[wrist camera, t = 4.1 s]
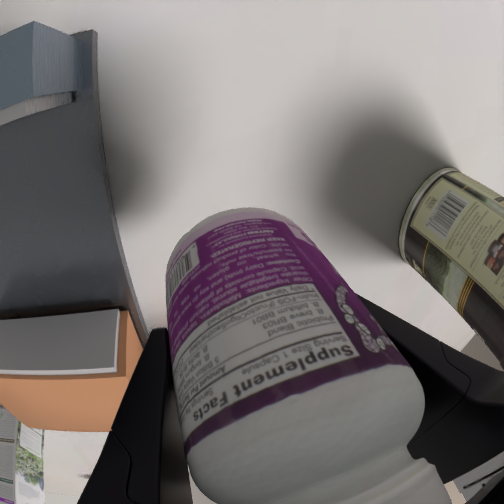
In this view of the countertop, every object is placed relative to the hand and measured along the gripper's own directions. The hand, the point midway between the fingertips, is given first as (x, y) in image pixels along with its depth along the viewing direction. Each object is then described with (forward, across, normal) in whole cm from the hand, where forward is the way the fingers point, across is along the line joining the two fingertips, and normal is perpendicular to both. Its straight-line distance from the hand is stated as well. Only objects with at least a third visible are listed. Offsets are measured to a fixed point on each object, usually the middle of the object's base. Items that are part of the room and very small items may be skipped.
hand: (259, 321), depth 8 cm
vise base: (+9, +12, +2) cm, 15 cm away
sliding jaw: (+8, +12, +10) cm, 17 cm away
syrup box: (+9, +29, +25) cm, 39 cm away
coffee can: (+9, -20, +3) cm, 22 cm away
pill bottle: (+3, 0, 0) cm, 3 cm away
